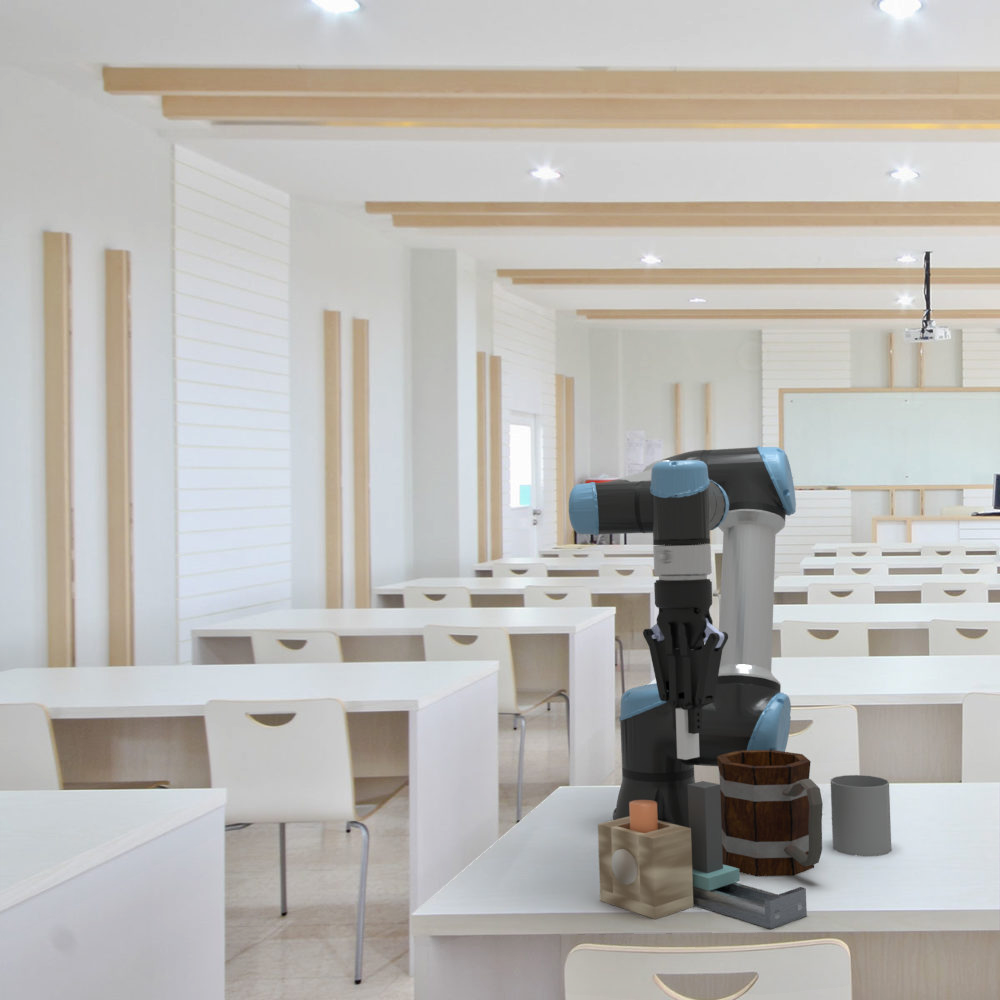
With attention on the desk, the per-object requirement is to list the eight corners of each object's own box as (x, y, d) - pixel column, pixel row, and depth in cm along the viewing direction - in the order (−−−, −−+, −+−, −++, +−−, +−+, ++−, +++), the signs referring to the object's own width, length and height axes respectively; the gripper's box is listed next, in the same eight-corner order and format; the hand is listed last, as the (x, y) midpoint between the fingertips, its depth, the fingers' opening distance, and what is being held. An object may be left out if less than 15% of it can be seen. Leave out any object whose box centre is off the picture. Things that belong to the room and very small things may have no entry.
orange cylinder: (625, 864, 152) (623, 803, 153) (644, 859, 155) (643, 798, 155) (645, 870, 150) (643, 807, 150) (664, 864, 152) (662, 802, 152)
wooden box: (598, 901, 154) (595, 824, 154) (638, 889, 158) (635, 814, 158) (653, 919, 146) (650, 839, 146) (693, 906, 150) (691, 828, 151)
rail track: (662, 895, 155) (661, 869, 155) (698, 883, 160) (697, 858, 160) (770, 929, 141) (769, 900, 141) (806, 915, 146) (805, 888, 146)
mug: (701, 857, 172) (697, 755, 173) (778, 845, 177) (775, 746, 178) (778, 895, 154) (774, 780, 154) (862, 881, 159) (858, 770, 159)
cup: (894, 857, 170) (891, 787, 170) (835, 855, 171) (833, 786, 172) (887, 841, 178) (884, 775, 178) (831, 839, 180) (828, 774, 180)
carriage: (674, 880, 154) (671, 784, 155) (705, 871, 158) (702, 777, 158) (708, 890, 150) (705, 791, 150) (739, 880, 153) (736, 784, 154)
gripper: (627, 578, 157) (632, 755, 156) (702, 579, 147) (708, 768, 146) (665, 575, 162) (670, 747, 161) (740, 577, 152) (746, 759, 151)
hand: (688, 757), depth 154 cm, fingers closed
